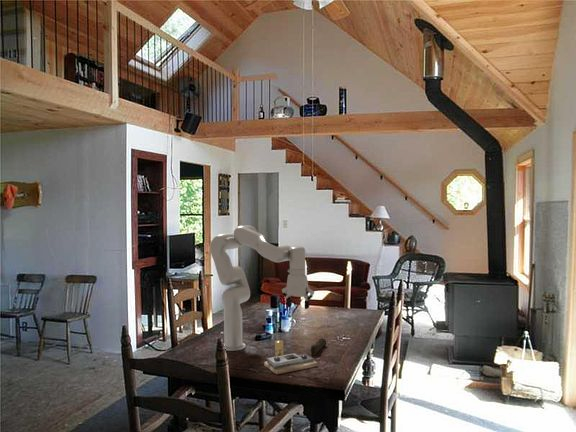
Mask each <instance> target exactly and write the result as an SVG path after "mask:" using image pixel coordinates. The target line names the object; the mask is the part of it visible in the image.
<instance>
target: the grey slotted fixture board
mask: <svg viewBox="0 0 576 432" xmlns="http://www.w3.org/2000/svg"><path fill="white" fill-rule="evenodd" d="M266 361H267V363H268V364H269V365H270V366H272V367H273V368H274V369H277V368H282V367H288V366H293V365H298V364H303V363H308V362H313V361H315V359H314V358H313V356H310V355H308V354H307V353H303V354H297V353H294V352H293V353H288V354H283V355H282V356H277V357H275V356H273V357H267V360H266Z"/></svg>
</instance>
